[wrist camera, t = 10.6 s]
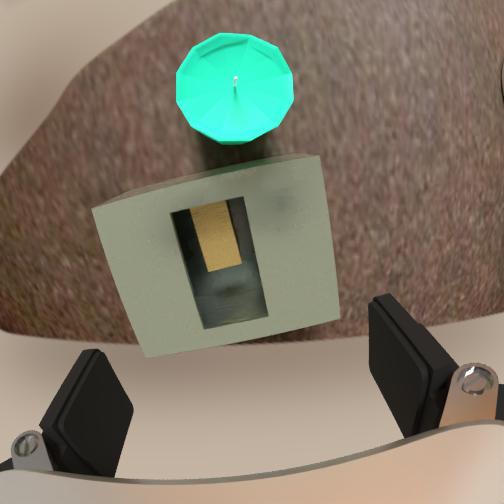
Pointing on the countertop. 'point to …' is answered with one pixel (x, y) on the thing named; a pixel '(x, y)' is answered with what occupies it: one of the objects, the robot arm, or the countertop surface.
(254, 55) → the candle
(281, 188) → the coin box
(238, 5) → the countertop surface
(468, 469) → the robot arm
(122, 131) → the countertop surface
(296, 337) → the countertop surface
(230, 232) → the block
